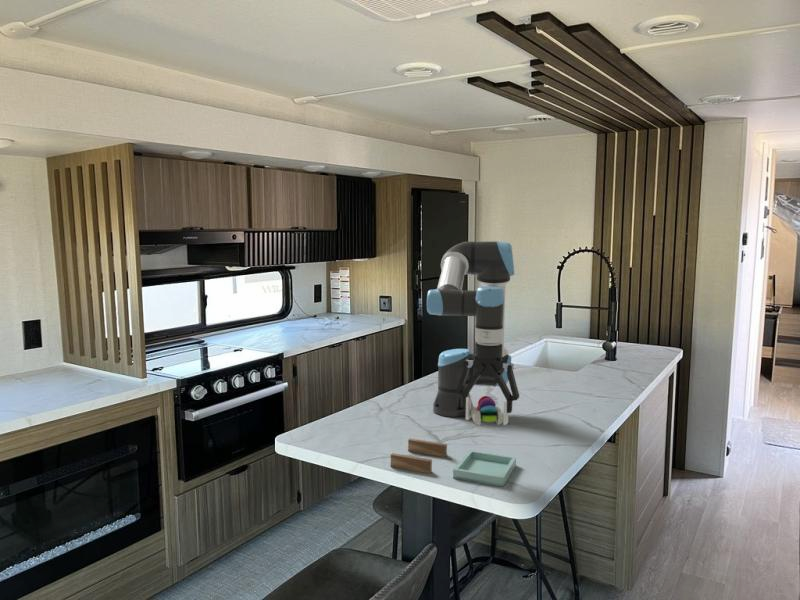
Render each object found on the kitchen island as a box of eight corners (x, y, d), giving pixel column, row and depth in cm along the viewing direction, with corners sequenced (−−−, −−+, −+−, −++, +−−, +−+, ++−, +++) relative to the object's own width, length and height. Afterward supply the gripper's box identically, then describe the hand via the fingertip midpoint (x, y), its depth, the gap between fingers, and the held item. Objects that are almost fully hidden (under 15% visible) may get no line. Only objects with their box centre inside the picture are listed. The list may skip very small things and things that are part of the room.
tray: (469, 458, 181) (469, 450, 181) (516, 465, 176) (516, 457, 175) (453, 478, 166) (453, 469, 166) (503, 486, 161) (503, 477, 161)
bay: (410, 449, 188) (410, 438, 188) (446, 455, 183) (446, 444, 183) (390, 466, 174) (390, 454, 174) (429, 473, 170) (429, 461, 169)
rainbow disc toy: (498, 416, 174) (499, 392, 173) (505, 427, 165) (506, 402, 164) (469, 416, 174) (469, 392, 173) (474, 428, 164) (474, 402, 164)
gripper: (445, 341, 168) (444, 419, 170) (527, 348, 159) (524, 430, 162) (453, 337, 175) (452, 412, 177) (532, 344, 166) (529, 422, 168)
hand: (486, 421), depth 169 cm, fingers closed on rainbow disc toy, 10 cm apart
